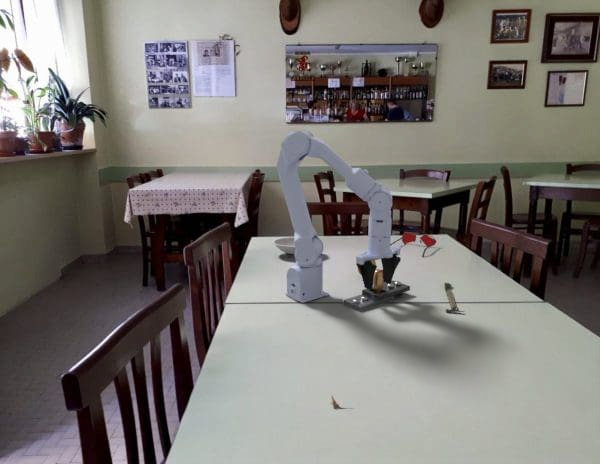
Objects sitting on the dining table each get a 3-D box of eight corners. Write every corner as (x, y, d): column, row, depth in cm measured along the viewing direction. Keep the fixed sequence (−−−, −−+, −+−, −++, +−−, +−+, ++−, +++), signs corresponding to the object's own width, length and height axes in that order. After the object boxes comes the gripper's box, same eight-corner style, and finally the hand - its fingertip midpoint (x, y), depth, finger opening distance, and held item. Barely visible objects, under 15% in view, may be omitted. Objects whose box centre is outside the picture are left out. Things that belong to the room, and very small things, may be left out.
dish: (267, 259, 157) (267, 245, 156) (277, 249, 171) (276, 236, 170) (318, 261, 154) (318, 247, 153) (323, 250, 168) (323, 237, 167)
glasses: (436, 248, 172) (437, 235, 171) (423, 258, 158) (423, 244, 157) (401, 243, 179) (402, 231, 178) (385, 253, 166) (386, 239, 165)
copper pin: (377, 301, 118) (378, 272, 117) (371, 299, 120) (371, 270, 119) (384, 299, 120) (385, 271, 118) (377, 297, 122) (378, 268, 120)
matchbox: (362, 407, 74) (362, 405, 74) (333, 414, 73) (333, 411, 73) (351, 392, 79) (351, 390, 79) (323, 398, 77) (323, 395, 77)
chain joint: (359, 311, 112) (360, 300, 112) (343, 304, 117) (343, 293, 116) (409, 294, 123) (410, 284, 123) (392, 288, 128) (393, 278, 127)
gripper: (371, 242, 109) (369, 295, 112) (410, 234, 117) (407, 283, 120) (350, 237, 114) (349, 288, 117) (389, 229, 123) (387, 276, 126)
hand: (377, 285), depth 119 cm, fingers open, 7 cm apart
